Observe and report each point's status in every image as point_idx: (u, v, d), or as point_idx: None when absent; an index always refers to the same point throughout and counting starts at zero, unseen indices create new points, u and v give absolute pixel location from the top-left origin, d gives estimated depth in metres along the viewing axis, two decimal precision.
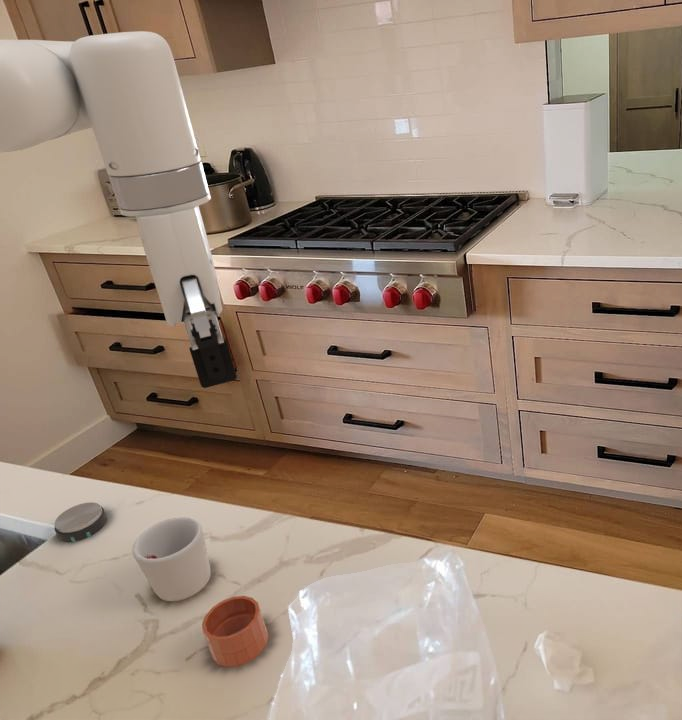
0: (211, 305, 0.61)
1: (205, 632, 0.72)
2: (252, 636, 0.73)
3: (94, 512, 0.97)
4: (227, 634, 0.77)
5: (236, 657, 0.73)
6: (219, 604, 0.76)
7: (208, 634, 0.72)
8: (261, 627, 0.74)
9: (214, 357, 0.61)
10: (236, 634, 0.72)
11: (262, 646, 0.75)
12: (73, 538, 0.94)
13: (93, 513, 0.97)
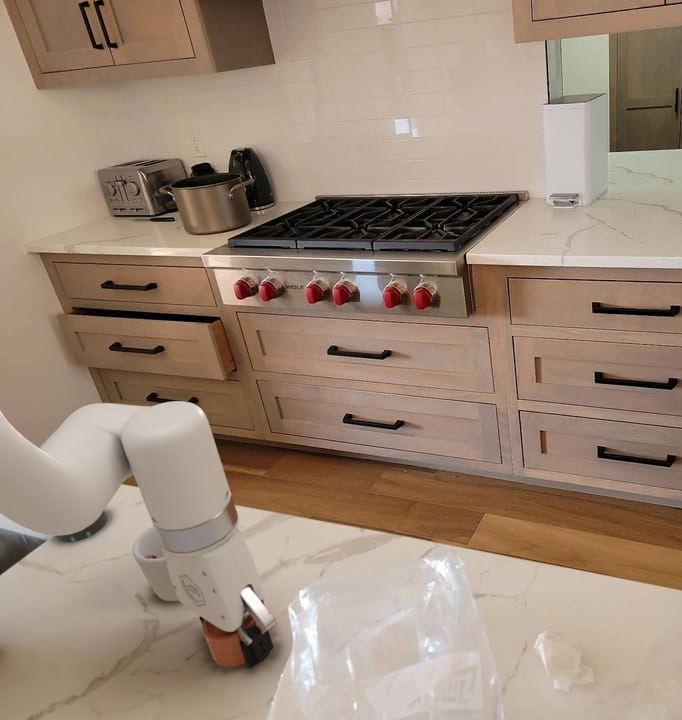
0: None
1: (205, 632, 0.72)
2: None
3: None
4: (227, 634, 0.77)
5: (236, 657, 0.73)
6: None
7: (208, 634, 0.72)
8: None
9: (261, 642, 0.72)
10: (236, 634, 0.72)
11: None
12: (73, 538, 0.94)
13: None
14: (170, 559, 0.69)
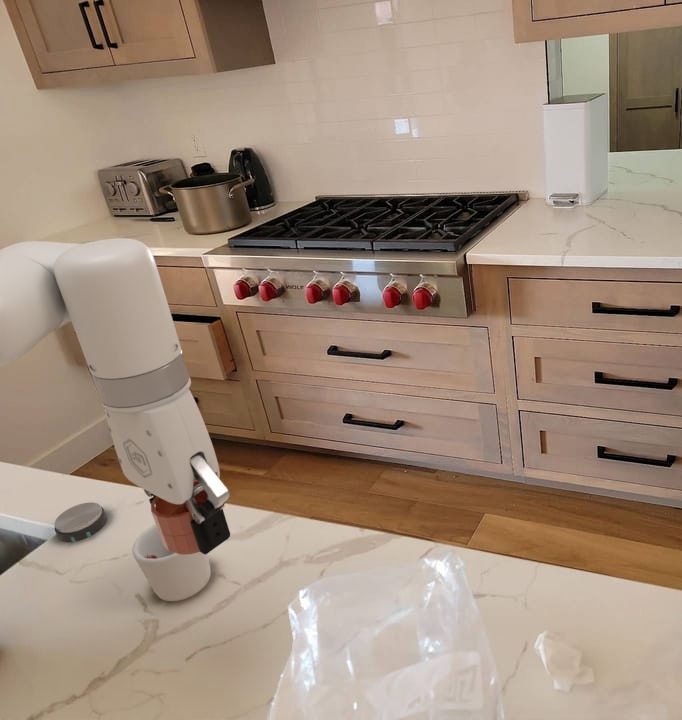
0: None
1: (153, 511, 0.65)
2: None
3: (94, 512, 0.97)
4: None
5: (187, 539, 0.66)
6: None
7: (156, 513, 0.65)
8: None
9: (216, 523, 0.66)
10: (187, 513, 0.65)
11: None
12: (73, 538, 0.94)
13: (93, 513, 0.97)
14: (113, 424, 0.62)
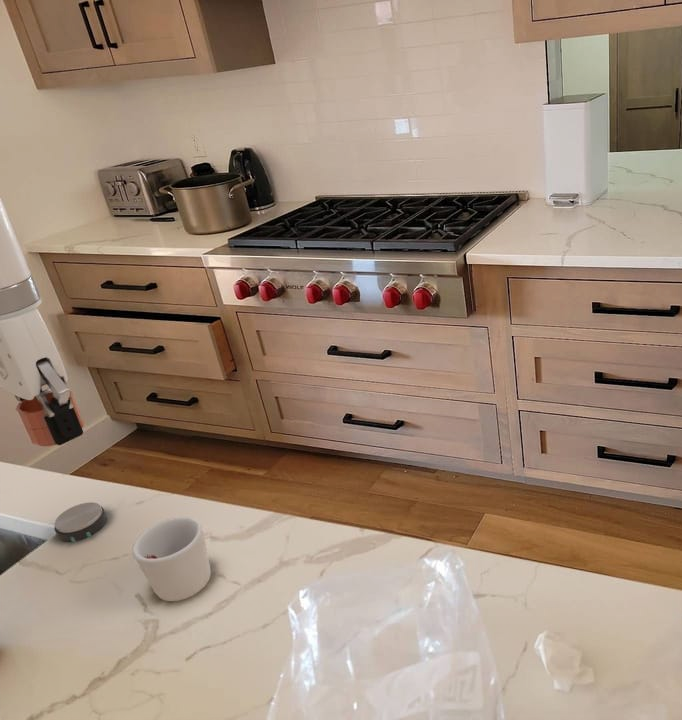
0: None
1: (17, 409, 0.81)
2: None
3: (94, 512, 0.97)
4: None
5: (44, 432, 0.82)
6: None
7: (19, 410, 0.81)
8: None
9: (66, 420, 0.81)
10: (43, 410, 0.81)
11: None
12: (73, 538, 0.94)
13: (93, 513, 0.97)
14: None
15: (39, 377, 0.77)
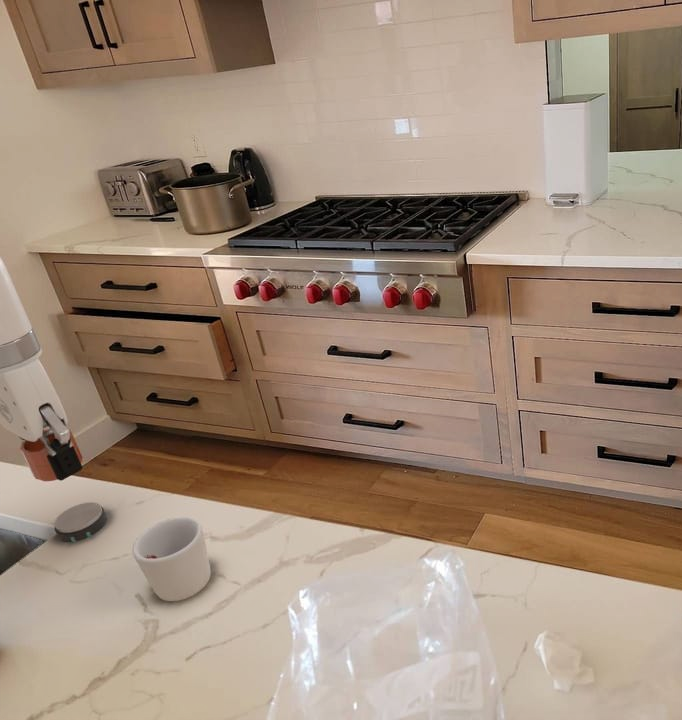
0: None
1: (21, 449, 0.89)
2: None
3: (94, 512, 0.97)
4: None
5: (47, 469, 0.90)
6: None
7: (23, 450, 0.89)
8: None
9: (67, 457, 0.90)
10: (45, 449, 0.89)
11: None
12: (73, 538, 0.94)
13: (93, 513, 0.97)
14: None
15: (42, 421, 0.85)
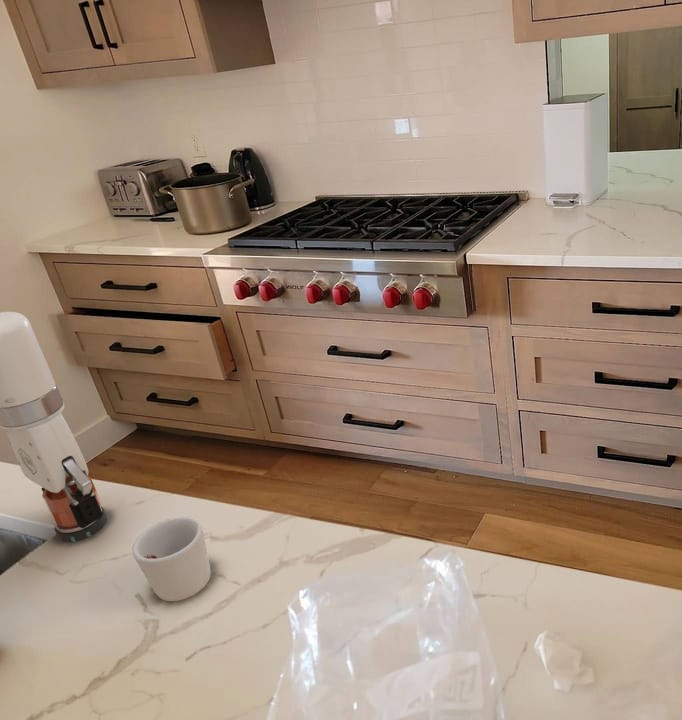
0: None
1: (44, 496, 0.93)
2: None
3: None
4: None
5: (68, 516, 0.93)
6: None
7: (45, 497, 0.93)
8: None
9: (88, 506, 0.93)
10: (67, 497, 0.92)
11: None
12: (73, 538, 0.94)
13: None
14: (10, 437, 0.90)
15: (64, 473, 0.89)
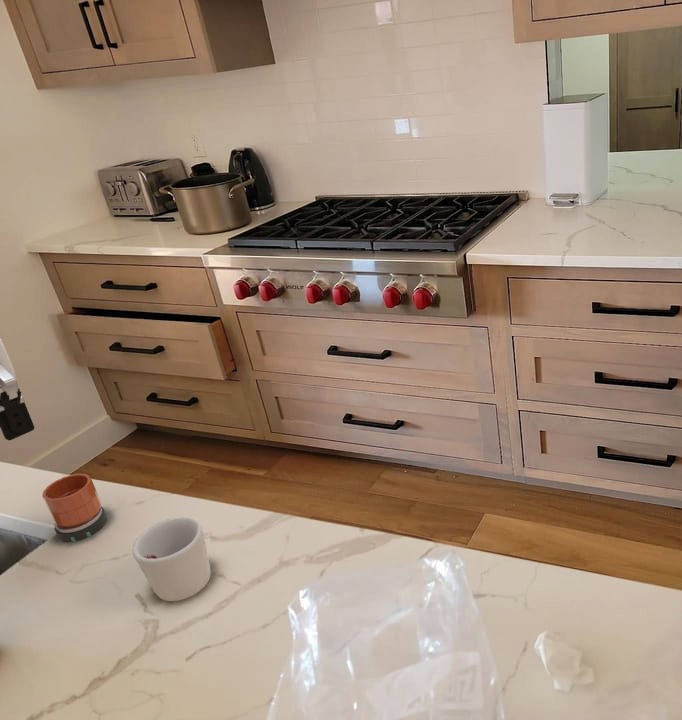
0: None
1: (44, 496, 0.93)
2: (81, 500, 0.94)
3: None
4: None
5: (68, 516, 0.93)
6: (60, 479, 0.96)
7: (45, 497, 0.93)
8: (91, 495, 0.95)
9: (17, 414, 0.81)
10: (67, 497, 0.92)
11: (92, 510, 0.95)
12: (73, 538, 0.94)
13: None
14: None
15: None
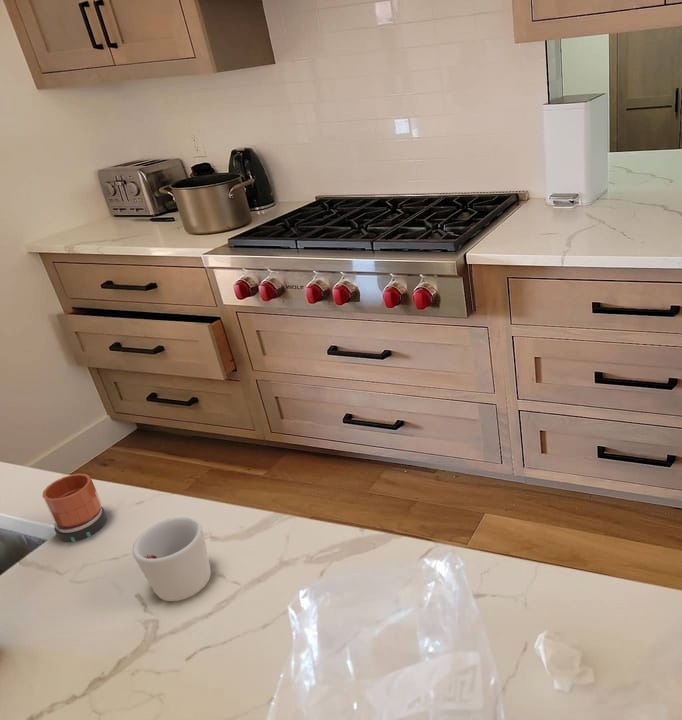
0: None
1: (44, 496, 0.93)
2: (81, 500, 0.94)
3: None
4: None
5: (68, 516, 0.93)
6: (60, 479, 0.96)
7: (45, 497, 0.93)
8: (91, 495, 0.95)
9: None
10: (67, 497, 0.92)
11: (92, 510, 0.95)
12: (73, 538, 0.94)
13: None
14: None
15: None
